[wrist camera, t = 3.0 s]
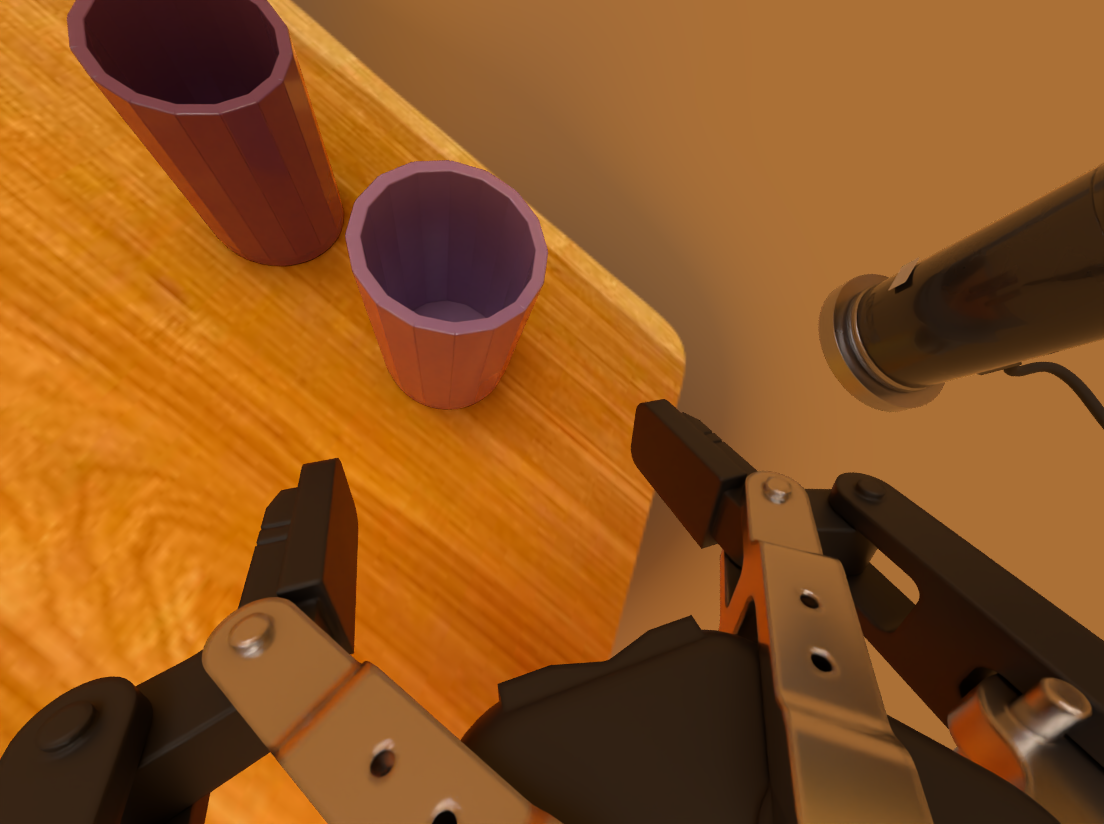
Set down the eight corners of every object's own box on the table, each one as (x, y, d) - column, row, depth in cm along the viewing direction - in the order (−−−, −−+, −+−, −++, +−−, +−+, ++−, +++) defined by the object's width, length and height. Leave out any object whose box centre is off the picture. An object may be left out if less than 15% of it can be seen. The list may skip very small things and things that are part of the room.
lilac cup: (513, 313, 25) (556, 190, 16) (496, 418, 23) (534, 351, 14) (399, 287, 24) (372, 136, 14) (373, 397, 22) (323, 308, 13)
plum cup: (356, 180, 25) (311, 4, 16) (327, 278, 23) (261, 138, 14) (231, 147, 23) (111, -65, 15) (191, 248, 22) (30, 74, 13)
